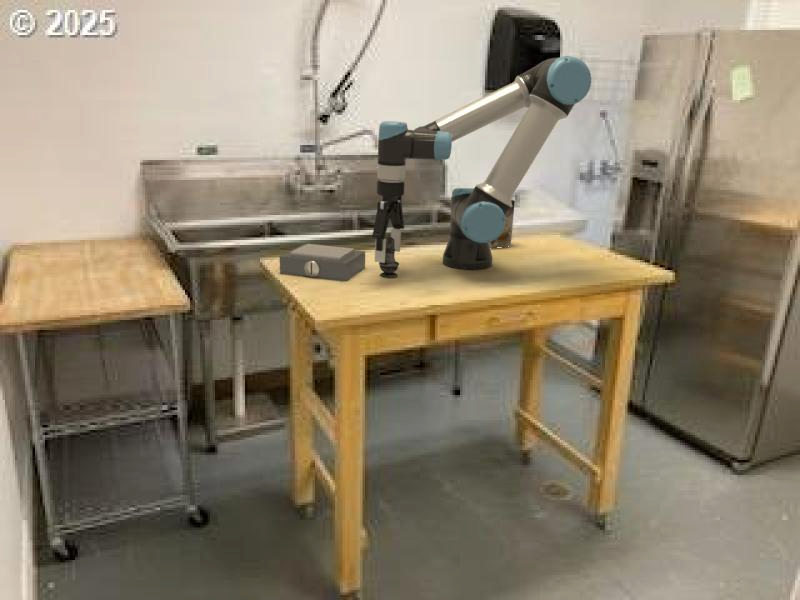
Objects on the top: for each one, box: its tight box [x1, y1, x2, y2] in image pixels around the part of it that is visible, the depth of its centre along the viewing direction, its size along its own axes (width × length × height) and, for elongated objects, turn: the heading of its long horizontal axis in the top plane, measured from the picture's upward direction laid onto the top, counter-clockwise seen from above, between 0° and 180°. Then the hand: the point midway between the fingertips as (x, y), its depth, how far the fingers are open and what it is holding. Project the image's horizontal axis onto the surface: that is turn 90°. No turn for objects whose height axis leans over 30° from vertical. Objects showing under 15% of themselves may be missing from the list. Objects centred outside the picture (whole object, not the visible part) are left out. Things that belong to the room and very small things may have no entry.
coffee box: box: [489, 199, 516, 248], centre depth 225 cm, size 9×6×16 cm
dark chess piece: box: [378, 233, 400, 279], centre depth 188 cm, size 6×6×12 cm
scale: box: [279, 243, 366, 282], centre depth 192 cm, size 20×16×6 cm
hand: (387, 256), depth 188 cm, fingers open, 13 cm apart
